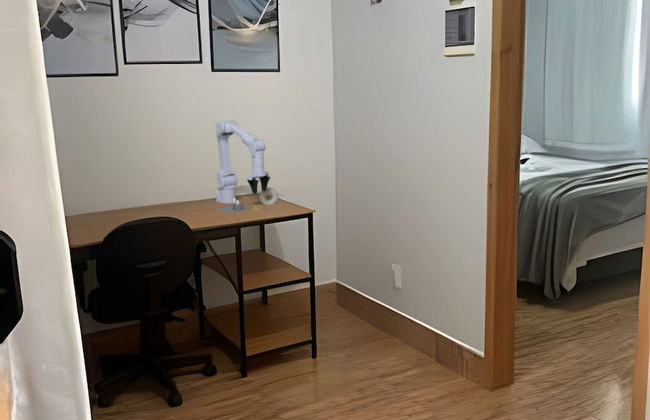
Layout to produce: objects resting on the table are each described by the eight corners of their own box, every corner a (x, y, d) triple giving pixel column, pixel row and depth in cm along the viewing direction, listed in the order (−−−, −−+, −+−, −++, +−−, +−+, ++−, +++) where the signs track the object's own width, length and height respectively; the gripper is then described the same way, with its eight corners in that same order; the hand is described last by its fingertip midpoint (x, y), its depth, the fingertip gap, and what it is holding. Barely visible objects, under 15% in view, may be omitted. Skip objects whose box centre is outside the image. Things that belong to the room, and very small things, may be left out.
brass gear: (248, 212, 312) (248, 205, 311) (255, 210, 316) (255, 203, 316) (257, 213, 309) (257, 206, 308) (264, 211, 314) (264, 204, 313)
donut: (277, 205, 328) (276, 186, 326) (279, 206, 324) (278, 187, 322) (258, 206, 324) (257, 187, 322) (260, 208, 321) (259, 188, 319)
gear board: (214, 213, 312) (213, 201, 310) (235, 207, 325) (234, 195, 324) (234, 215, 305) (233, 203, 304) (255, 209, 318) (254, 197, 317)
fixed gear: (230, 210, 311) (230, 204, 310) (236, 208, 316) (235, 202, 315) (240, 210, 309) (239, 204, 308) (245, 208, 314) (245, 202, 313)
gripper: (255, 167, 301) (256, 195, 304) (273, 163, 313) (274, 190, 316) (243, 166, 305) (245, 194, 308) (262, 162, 317) (263, 189, 320)
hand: (259, 192), depth 312 cm, fingers open, 7 cm apart
